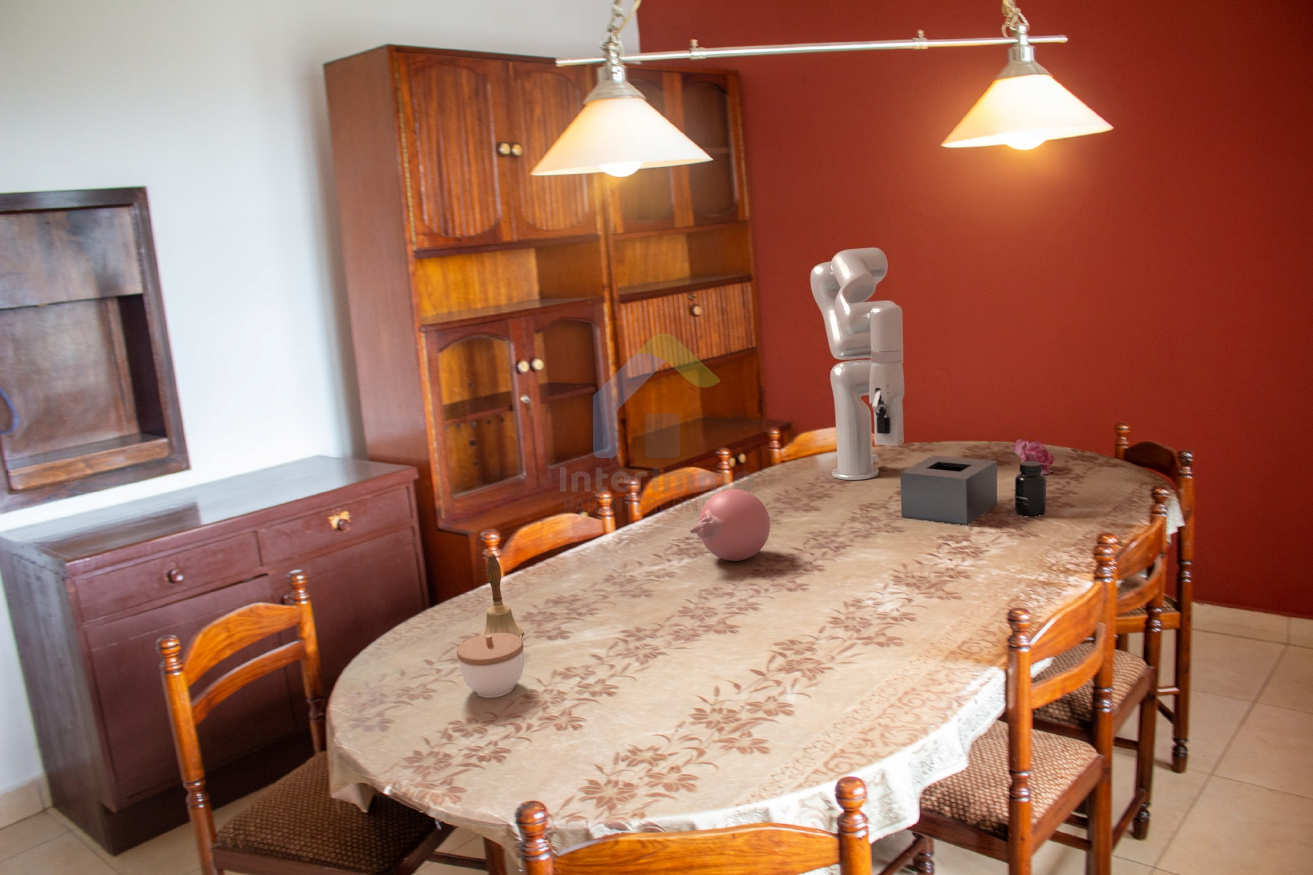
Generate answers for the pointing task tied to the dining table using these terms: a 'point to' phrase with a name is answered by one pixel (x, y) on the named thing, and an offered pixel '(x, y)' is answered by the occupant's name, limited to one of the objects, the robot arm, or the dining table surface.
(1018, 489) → the supplement bottle
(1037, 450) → the flower
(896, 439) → the skincare box
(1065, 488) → the dining table surface
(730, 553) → the pink party balloon
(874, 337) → the robot arm
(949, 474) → the slot box
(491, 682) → the lidded jar
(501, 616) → the hand bell
